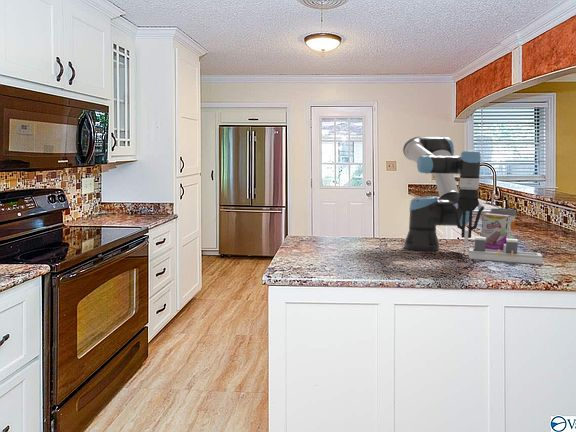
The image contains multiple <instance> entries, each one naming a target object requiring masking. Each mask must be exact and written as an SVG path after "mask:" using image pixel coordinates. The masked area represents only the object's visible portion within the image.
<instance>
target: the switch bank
mask: <svg viewBox="0 0 576 432" xmlns="http://www.w3.org/2000/svg"><path fill="white" fill-rule="evenodd" d="M468 259H469V260H470V259H471V260H483V261H495V262H507V263H508V262H509V263H519V264H520V263H521V264H533V265H534V264H535V265H543V262H544V258H543V254H541V252H532V251H531V252H530V251H518V250H517V254H513V251H511V253H506V244H504V248H503V250H490V249H485V251H474V247H469V249H468Z"/></svg>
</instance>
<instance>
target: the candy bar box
mask: <svg viewBox="0 0 576 432" xmlns="http://www.w3.org/2000/svg"><path fill="white" fill-rule="evenodd" d="M511 219H512V216H510V215H500V214H490V213H489V212H486V213H482V223H481V235H480V237H486V243H485V249H490V250H503V248H504V244H506V238H508V239H510V231H511Z"/></svg>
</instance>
